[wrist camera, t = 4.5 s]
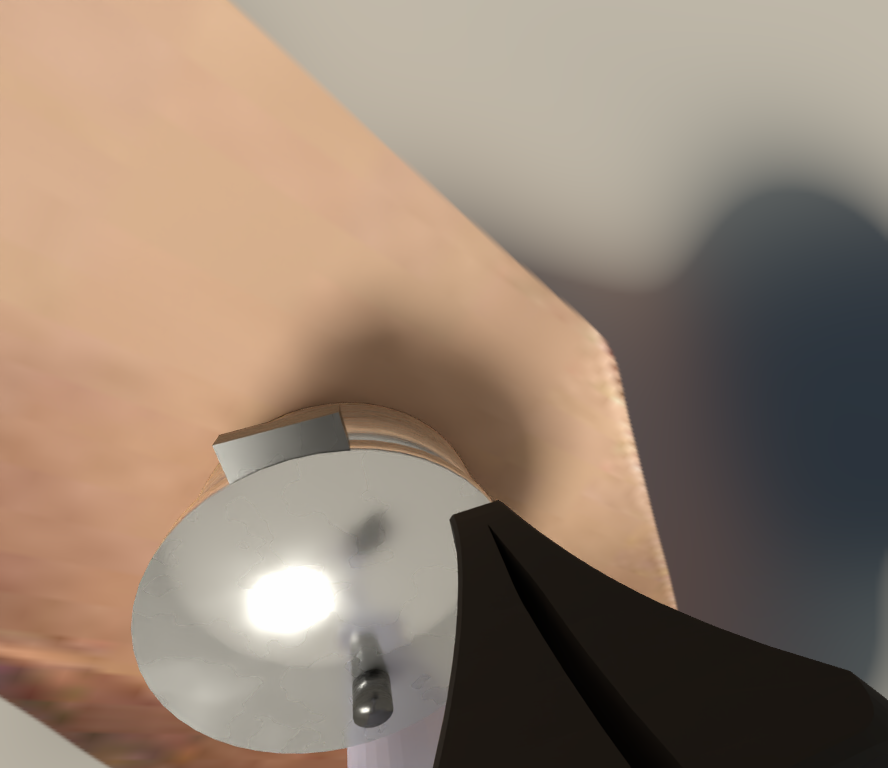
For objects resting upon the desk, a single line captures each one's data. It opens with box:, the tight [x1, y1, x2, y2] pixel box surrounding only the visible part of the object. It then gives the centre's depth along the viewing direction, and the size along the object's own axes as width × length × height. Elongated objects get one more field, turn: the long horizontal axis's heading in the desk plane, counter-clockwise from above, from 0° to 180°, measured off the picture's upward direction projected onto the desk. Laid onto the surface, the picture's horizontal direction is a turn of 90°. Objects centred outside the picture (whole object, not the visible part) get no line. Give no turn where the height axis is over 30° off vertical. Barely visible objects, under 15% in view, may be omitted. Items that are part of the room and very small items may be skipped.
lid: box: [131, 404, 492, 753], centre depth 16 cm, size 16×15×2 cm
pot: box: [197, 403, 471, 499], centre depth 19 cm, size 15×14×4 cm
